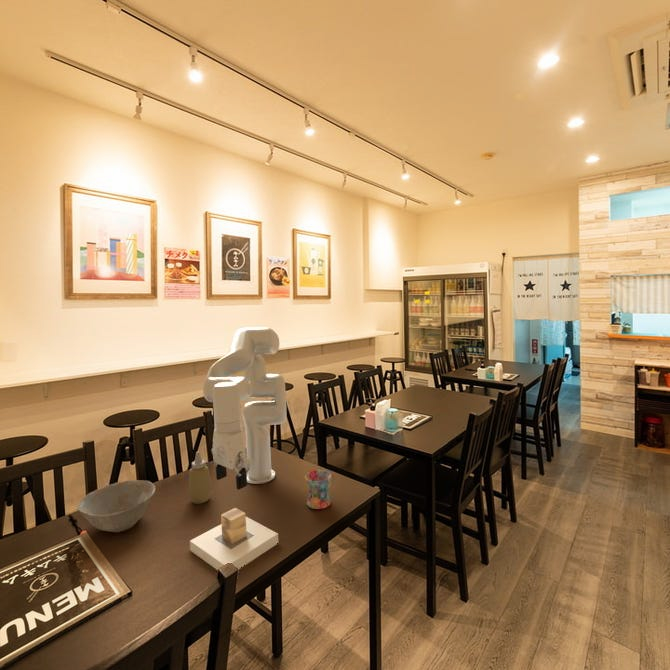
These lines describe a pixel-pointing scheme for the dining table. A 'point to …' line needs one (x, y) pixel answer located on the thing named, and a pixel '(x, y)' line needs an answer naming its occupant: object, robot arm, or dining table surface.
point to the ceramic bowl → (117, 505)
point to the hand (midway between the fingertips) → (231, 482)
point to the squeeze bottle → (199, 481)
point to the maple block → (233, 525)
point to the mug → (318, 488)
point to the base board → (233, 545)
